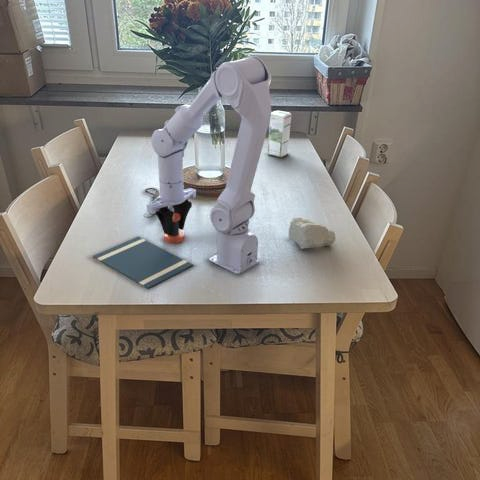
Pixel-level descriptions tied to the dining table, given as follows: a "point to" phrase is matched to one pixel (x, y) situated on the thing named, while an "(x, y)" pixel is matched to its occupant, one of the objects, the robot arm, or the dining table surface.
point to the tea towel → (143, 262)
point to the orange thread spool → (175, 231)
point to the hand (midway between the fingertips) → (173, 231)
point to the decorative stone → (310, 233)
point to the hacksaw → (155, 198)
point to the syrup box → (279, 133)
